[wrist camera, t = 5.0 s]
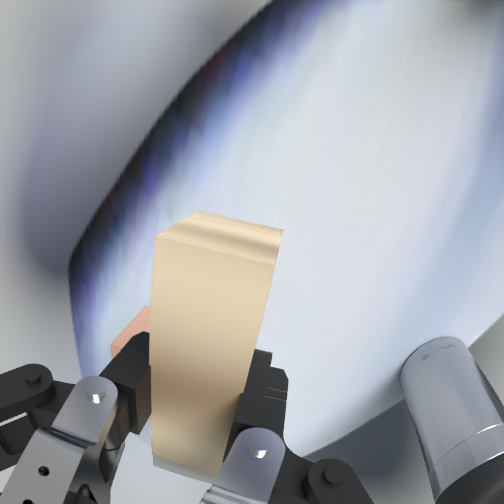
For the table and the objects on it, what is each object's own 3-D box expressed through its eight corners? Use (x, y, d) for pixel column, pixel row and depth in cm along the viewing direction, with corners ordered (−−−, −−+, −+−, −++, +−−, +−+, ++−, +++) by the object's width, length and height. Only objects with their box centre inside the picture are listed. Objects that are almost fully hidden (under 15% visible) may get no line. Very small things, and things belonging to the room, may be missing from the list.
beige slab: (167, 204, 10) (116, 226, 7) (317, 238, 10) (324, 276, 7) (157, 458, 15) (138, 497, 12) (238, 482, 15) (227, 524, 12)
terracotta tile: (146, 305, 33) (110, 344, 26) (196, 320, 33) (170, 365, 25) (145, 318, 34) (111, 358, 26) (195, 333, 33) (169, 379, 26)
